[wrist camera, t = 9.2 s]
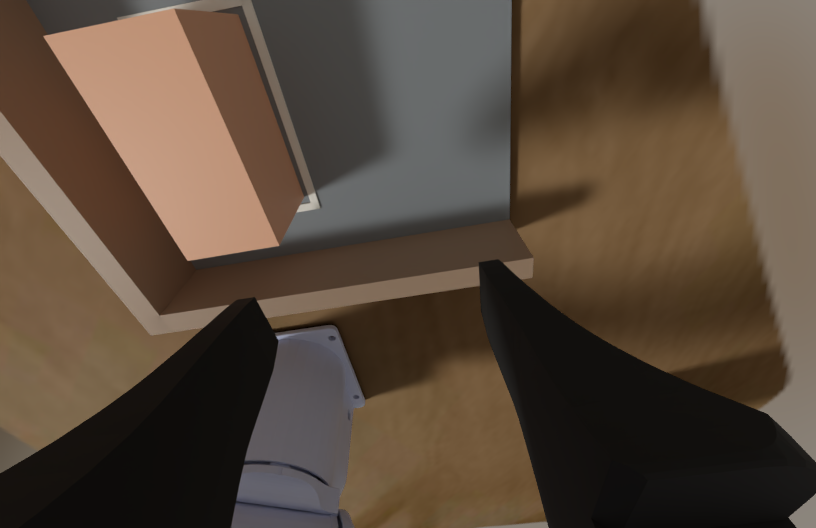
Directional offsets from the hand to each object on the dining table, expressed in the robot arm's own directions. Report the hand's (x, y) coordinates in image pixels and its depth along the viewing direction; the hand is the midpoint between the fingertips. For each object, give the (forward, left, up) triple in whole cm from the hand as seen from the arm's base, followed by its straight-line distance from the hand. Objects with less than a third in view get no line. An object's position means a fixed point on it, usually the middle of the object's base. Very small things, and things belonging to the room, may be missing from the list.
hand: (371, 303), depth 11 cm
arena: (+4, +3, -9) cm, 11 cm away
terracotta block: (+5, +6, -9) cm, 12 cm away
